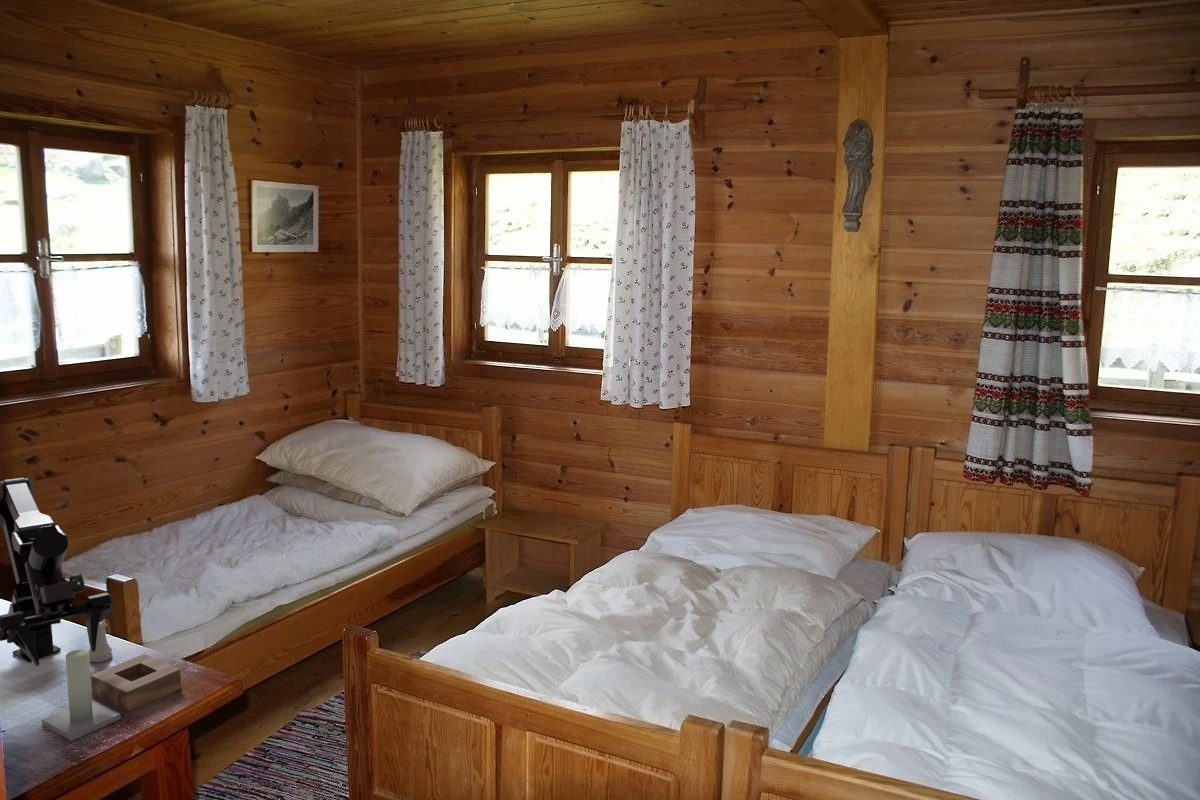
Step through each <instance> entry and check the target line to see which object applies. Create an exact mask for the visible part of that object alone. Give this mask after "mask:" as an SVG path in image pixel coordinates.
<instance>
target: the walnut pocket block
mask: <svg viewBox="0 0 1200 800" xmlns="http://www.w3.org/2000/svg"><path fill="white" fill-rule="evenodd" d="M90 677H91V694H92V696H93V697H96V698H97V699H100V700H101V701H103V702H106V703H108V704H109V705H112V706H114V707H115V708H118V709H120V710H122V711H124V712H126V713H129V711H130V712H131V710H132V711H134V710H136V709H139V708H141V707H142V706H146V705H147V704H150V703H152V702H154V701H156V700H158V699H161V698H163V697H165V696H167V695H170V694H172V693H173V692H177V691H178V689H179V690H181V688H182V683H181V682H182V681H181V669H180V668H178V667H177V666H174V665H171V664H169V663H167V662H164V661H162V660H159V659H158V658H155V657H153V656H151V655H148V654H146V653H142V654H140V655H138V656H135V657H133V658H130V659H128V660H127V659H126V660H125V661H122V662H120V663H118V664H115V665H113V666H110V667H108V668H104V669H103V670H100V671H98V672H95V673H93V674H90ZM138 707H139V708H138Z"/></svg>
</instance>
